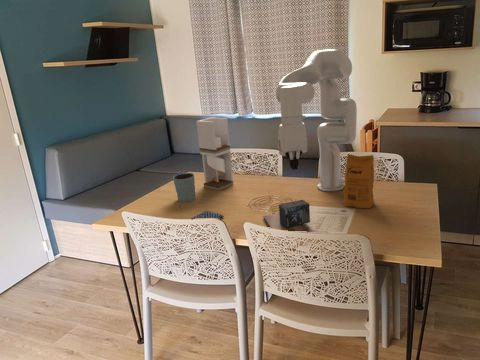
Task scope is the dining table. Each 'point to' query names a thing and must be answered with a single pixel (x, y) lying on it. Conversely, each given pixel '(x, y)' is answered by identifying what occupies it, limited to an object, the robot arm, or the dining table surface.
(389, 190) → the dining table surface
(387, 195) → the dining table surface
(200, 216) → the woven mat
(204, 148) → the white drip coffee maker
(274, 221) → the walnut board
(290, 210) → the box
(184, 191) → the teal cup
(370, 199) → the coffee package
